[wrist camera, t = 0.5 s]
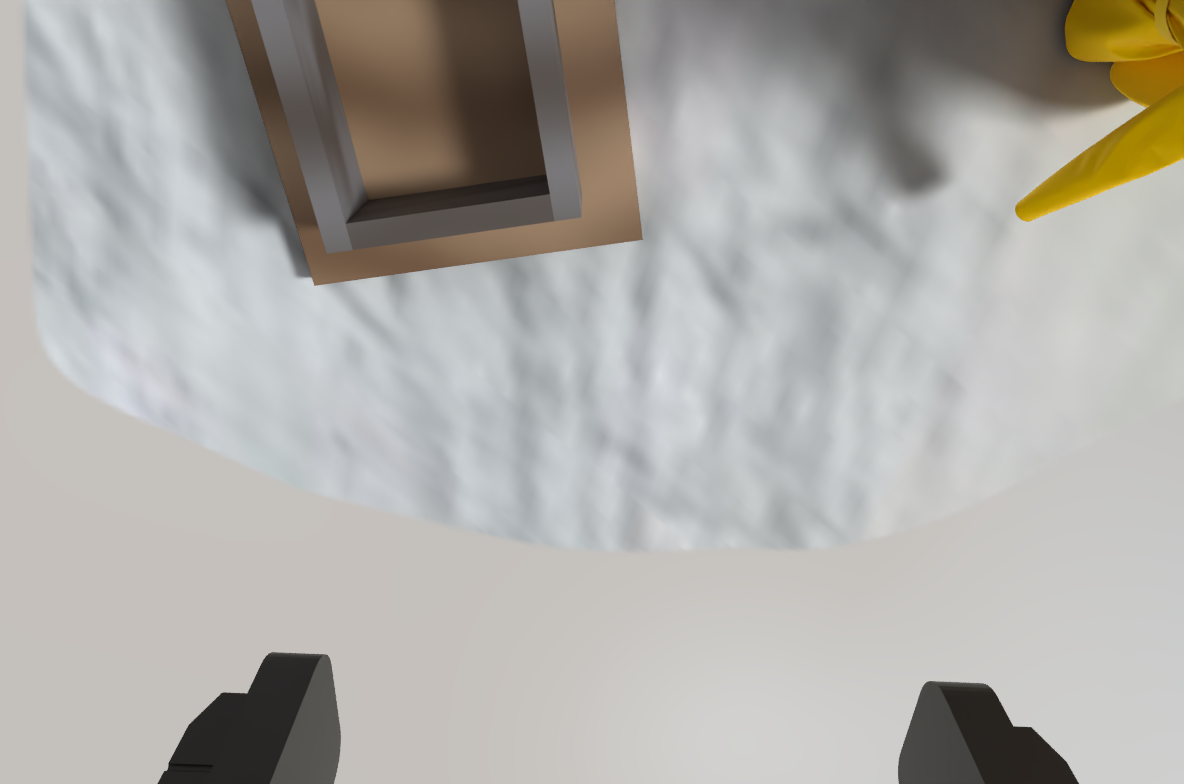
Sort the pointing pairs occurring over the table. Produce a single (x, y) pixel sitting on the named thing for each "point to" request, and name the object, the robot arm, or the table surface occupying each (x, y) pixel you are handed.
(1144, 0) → the figure statuette
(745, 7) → the table surface
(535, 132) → the square holder
